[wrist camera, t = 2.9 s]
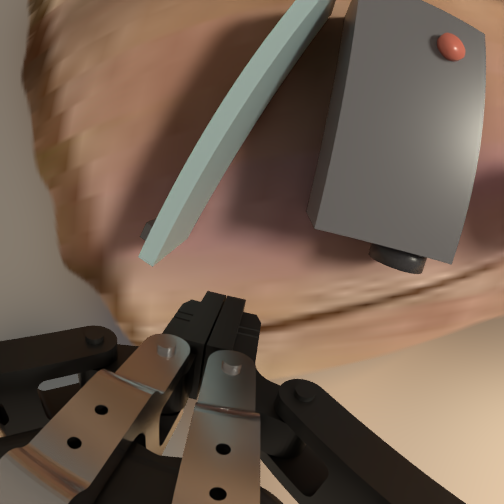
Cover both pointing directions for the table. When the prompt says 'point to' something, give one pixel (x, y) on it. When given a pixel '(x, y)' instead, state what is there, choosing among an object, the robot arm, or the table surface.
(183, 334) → the robot arm
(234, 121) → the side door
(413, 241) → the camera housing
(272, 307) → the table surface
